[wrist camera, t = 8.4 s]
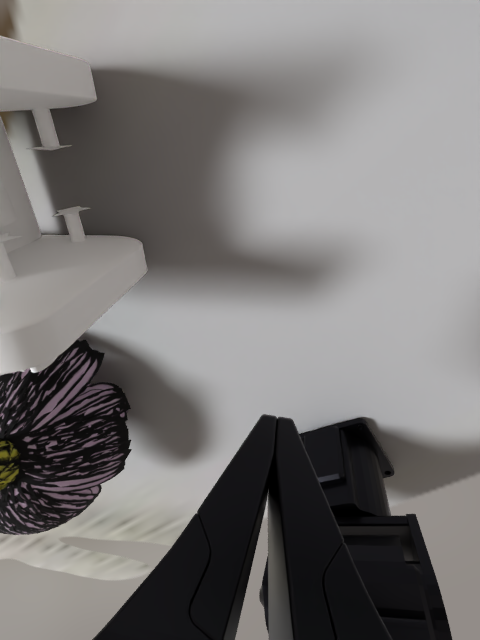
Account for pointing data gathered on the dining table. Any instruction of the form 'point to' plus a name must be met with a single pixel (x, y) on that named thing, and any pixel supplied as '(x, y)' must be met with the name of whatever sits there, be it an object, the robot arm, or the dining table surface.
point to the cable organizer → (50, 250)
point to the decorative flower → (58, 440)
